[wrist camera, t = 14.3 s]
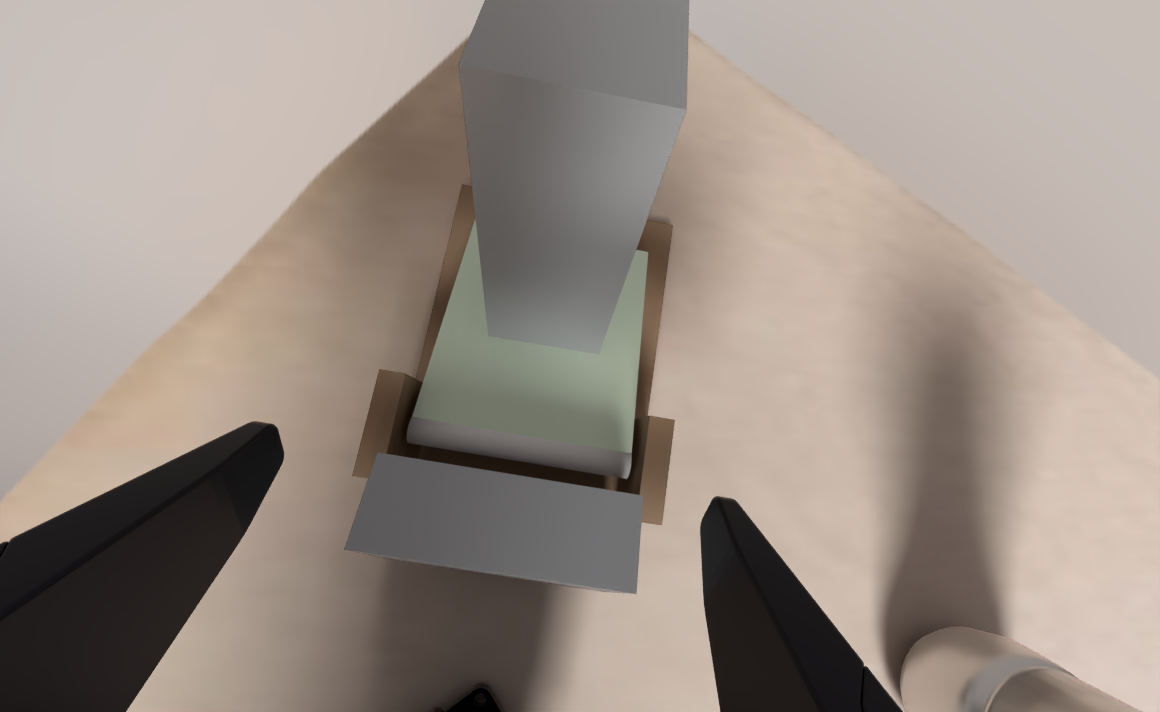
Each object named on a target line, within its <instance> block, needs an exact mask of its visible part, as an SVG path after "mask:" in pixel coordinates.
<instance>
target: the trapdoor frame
mask: <svg viewBox="0 0 1160 712" xmlns="http://www.w3.org/2000/svg"><path fill="white" fill-rule="evenodd" d="M474 221H475V210H474V200H473V191H472V186H468V185H463V184H462V188H461V192H460V196H459V201H458V205H457V209H456V213H455V217H454V222H453V226H452V230H451V234H450V238H449V243H448V247H447V251H446V255H445V260H444V264H443V268H442V272H441V276H440V281H439V285H438V289H437V293H436V297H435V302H434V306H433V310H432V314H431V319H430V323H429V327H428V331H427V335H426V340H425V344H424V348H423V352H422V356H421V361H420V365H419V369H418V373H417V378H416V379H415V378H413V377H411V376H409V375H407V374H404V373H399V372H393V371H387V370H381V369H379V373H378V377H377V381H376V385H375V389H374V392H373V396H372V400H371V404H370V408H369V412H368V416H367V420H366V424H365V428H364V432H363V436H362V440H361V444H360V447H359V451H358V455H357V459H356V463H355V467H354V471H353V475H352V476H357V477H363V478H369V476H370V473H371V470H372V467H373V464H374V461H375V459H376V456H377V453H384V454H390V455H397V456H403V457H409V458H415V459H421V460H427V461H433V462H440V463H446V464H452V465H458V466H464V467H470V468H476V469H483V470H489V471H495V472H501V473H507V474H513V475H519V476H526V477H532V478H538V479H544V480H550V481H556V482H562V483H569V484H575V485H581V486H587V487H593V488H599V489H605V490H612V491H618V492H624V493H630V494H636V495H642V496H643V503H642V518H641V522H645V523H651V524H657V525H662V520H663V512H664V504H665V496H666V487H667V479H668V471H669V463H670V454H671V446H672V438H673V430H674V421H675V420H672V419H666V418H660V417H654V416H648V408H649V401H650V393H651V386H652V378H653V371H654V363H655V356H656V348H657V340H658V333H659V325H660V318H661V310H662V303H663V295H664V288H665V280H666V273H667V265H668V258H669V250H670V243H671V235H672V228H673V225H669V224H664V223H659V222H653V221H648V220H647V221H646V224H645V227H644V229H643V232H642V235H641V238H640V241H639V243H638V246H637V249H636V250H640V251H645V252H648V261H647V273H646V285H645V298H644V310H643V322H642V334H641V346H640V358H639V370H638V382H637V394H636V406H635V419H634V431H633V443H632V461H631V468H630V473H629V476H628V478H627V479H624V478H618V477H611V476H605V475H599V474H593V473H587V472H581V471H575V470H569V469H563V468H557V467H551V466H545V465H538V464H532V463H526V462H520V461H514V460H508V459H502V458H496V457H490V456H484V455H478V454H472V453H465V452H459V451H453V450H447V449H441V448H435V447H429V446H423V445H417V444H411V443H408V442H407V430H408V425H409V422H410V420H411V418H412V415H413V412H414V409H415V406H416V403H417V400H418V396H419V393H420V390H421V387H422V384H423V381H424V378H425V375H426V371H427V368H428V365H429V362H430V359H431V356H432V353H433V349H434V346H435V343H436V340H437V337H438V334H439V331H440V328H441V324H442V321H443V318H444V315H445V312H446V309H447V306H448V303H449V299H450V296H451V293H452V290H453V287H454V284H455V281H456V277H457V274H458V271H459V268H460V265H461V262H462V259H463V256H464V252H465V249H466V246H467V243H468V240H469V237H470V234H471V231H472V227H473V224H474Z"/></svg>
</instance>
